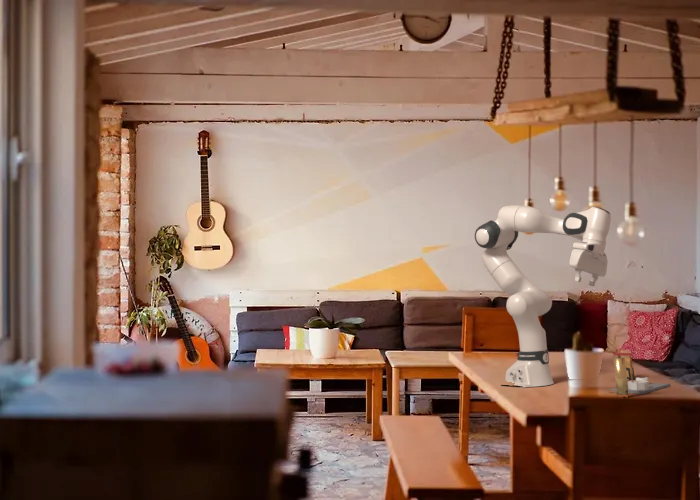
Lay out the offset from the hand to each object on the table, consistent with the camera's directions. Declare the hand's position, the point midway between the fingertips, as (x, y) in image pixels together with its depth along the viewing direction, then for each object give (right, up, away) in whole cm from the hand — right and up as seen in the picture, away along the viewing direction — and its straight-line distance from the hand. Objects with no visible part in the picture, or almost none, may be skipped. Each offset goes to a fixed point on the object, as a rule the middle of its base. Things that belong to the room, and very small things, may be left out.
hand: (584, 283), depth 329 cm
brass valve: (+8, -39, -26) cm, 48 cm away
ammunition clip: (+24, -40, +22) cm, 51 cm away
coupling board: (+18, -39, -9) cm, 44 cm away
